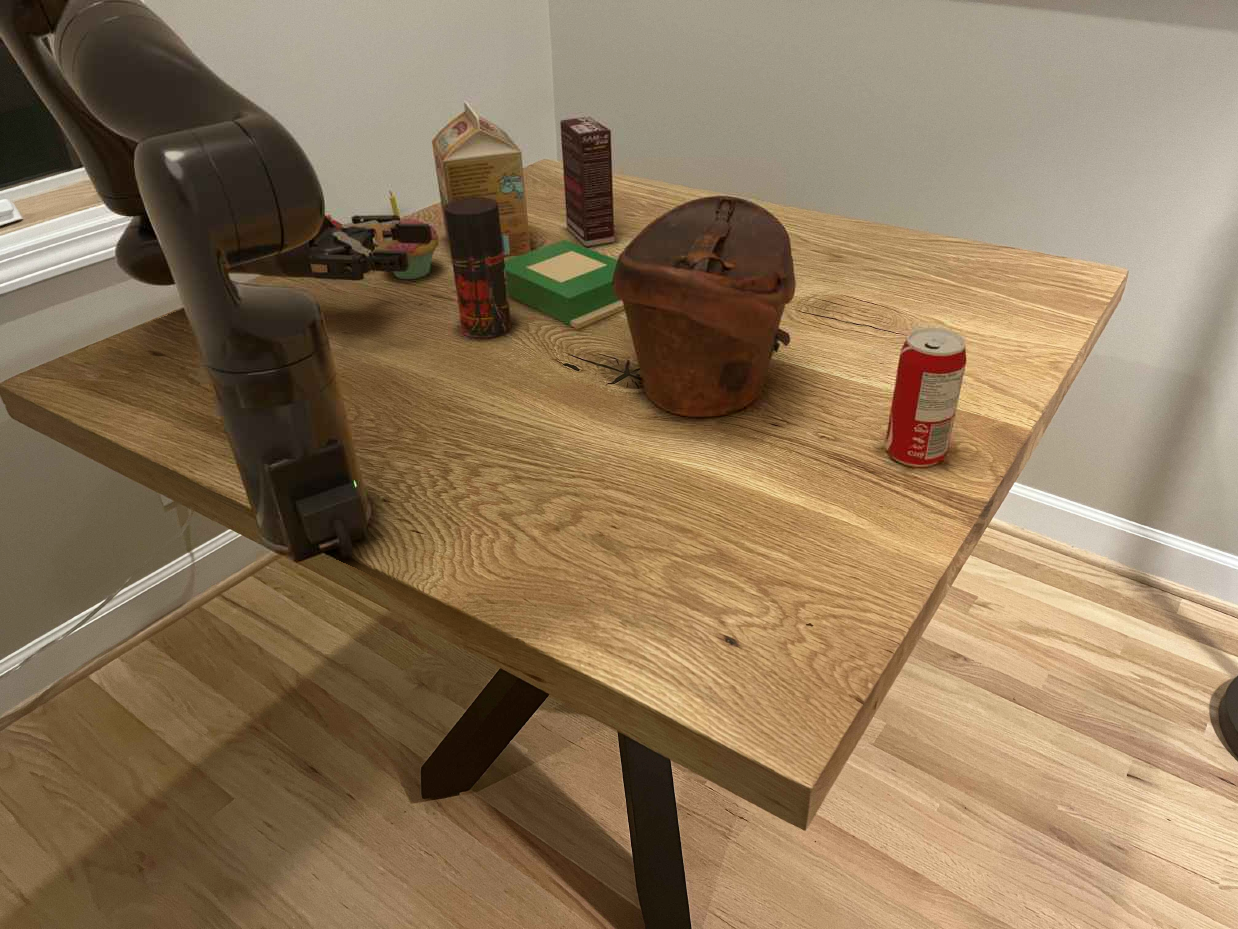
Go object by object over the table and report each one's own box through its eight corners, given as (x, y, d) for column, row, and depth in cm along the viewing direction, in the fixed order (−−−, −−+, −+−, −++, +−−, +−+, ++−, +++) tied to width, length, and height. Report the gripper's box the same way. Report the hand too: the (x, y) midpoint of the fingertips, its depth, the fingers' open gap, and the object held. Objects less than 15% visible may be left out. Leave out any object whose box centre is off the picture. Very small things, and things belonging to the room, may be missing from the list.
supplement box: (616, 242, 131) (612, 129, 122) (585, 248, 129) (578, 134, 120) (595, 223, 137) (590, 115, 128) (565, 228, 136) (558, 119, 127)
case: (648, 454, 85) (645, 276, 75) (596, 360, 101) (588, 202, 91) (822, 422, 89) (841, 248, 79) (745, 336, 105) (753, 182, 95)
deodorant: (456, 323, 110) (438, 202, 102) (502, 313, 112) (488, 193, 104) (470, 342, 106) (452, 217, 97) (518, 332, 108) (505, 208, 99)
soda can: (900, 430, 87) (919, 317, 80) (955, 449, 84) (980, 333, 78) (874, 456, 84) (892, 340, 77) (930, 476, 81) (954, 358, 74)
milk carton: (446, 237, 135) (426, 104, 124) (515, 228, 137) (502, 96, 126) (457, 263, 126) (437, 122, 115) (530, 252, 129) (517, 113, 118)
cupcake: (429, 286, 120) (414, 197, 113) (369, 283, 121) (351, 195, 114) (451, 261, 127) (439, 176, 120) (395, 259, 128) (379, 174, 121)
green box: (649, 298, 114) (649, 271, 112) (577, 329, 108) (575, 300, 106) (560, 262, 125) (558, 236, 123) (490, 287, 119) (487, 261, 117)
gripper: (250, 235, 98) (392, 237, 96) (304, 193, 110) (432, 194, 108) (267, 299, 102) (404, 302, 100) (318, 252, 114) (442, 254, 112)
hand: (419, 246), depth 104 cm, fingers open, 8 cm apart
